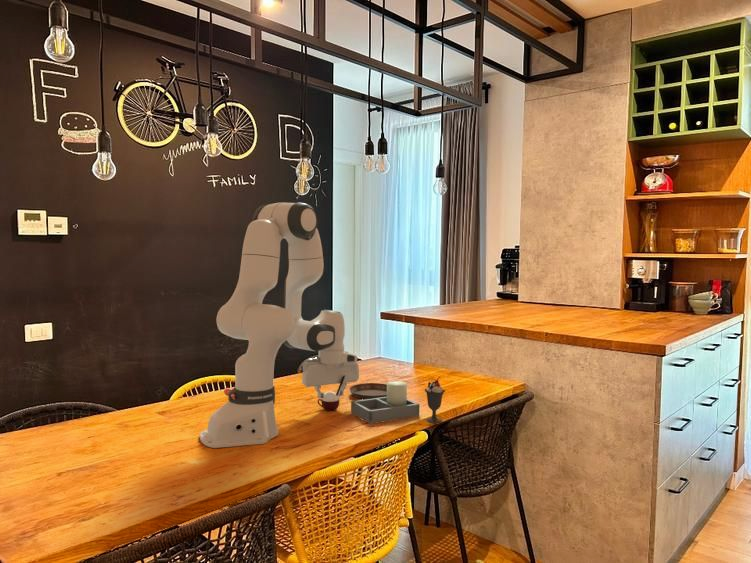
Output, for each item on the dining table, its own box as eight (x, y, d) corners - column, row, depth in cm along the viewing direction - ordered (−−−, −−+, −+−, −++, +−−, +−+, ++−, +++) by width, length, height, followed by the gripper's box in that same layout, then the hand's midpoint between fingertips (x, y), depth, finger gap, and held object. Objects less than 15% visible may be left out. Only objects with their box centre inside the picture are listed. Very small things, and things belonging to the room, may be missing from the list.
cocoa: (315, 410, 193) (313, 376, 192) (327, 405, 198) (325, 372, 197) (337, 414, 188) (335, 379, 187) (348, 409, 193) (346, 375, 192)
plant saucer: (386, 405, 201) (386, 396, 201) (341, 399, 208) (341, 391, 207) (402, 393, 217) (402, 385, 217) (360, 388, 224) (360, 381, 224)
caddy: (369, 423, 178) (369, 392, 178) (351, 413, 190) (351, 383, 189) (419, 416, 187) (419, 386, 187) (398, 406, 199) (399, 378, 198)
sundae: (443, 424, 179) (444, 378, 178) (422, 423, 180) (423, 376, 179) (445, 418, 185) (446, 373, 184) (425, 417, 186) (426, 372, 186)
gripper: (306, 360, 184) (306, 402, 185) (361, 356, 194) (360, 395, 195) (299, 357, 190) (298, 397, 190) (353, 353, 200) (352, 391, 200)
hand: (330, 396), depth 193 cm, fingers closed on cocoa, 6 cm apart
